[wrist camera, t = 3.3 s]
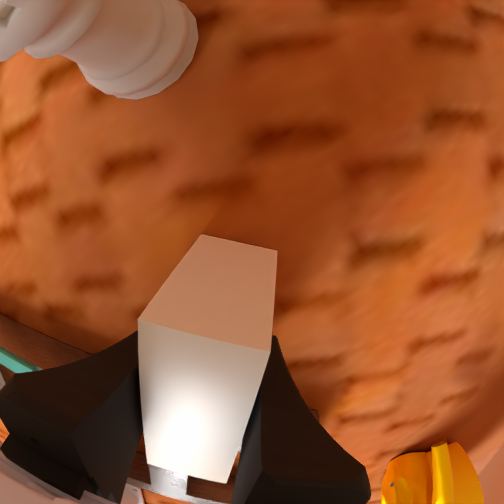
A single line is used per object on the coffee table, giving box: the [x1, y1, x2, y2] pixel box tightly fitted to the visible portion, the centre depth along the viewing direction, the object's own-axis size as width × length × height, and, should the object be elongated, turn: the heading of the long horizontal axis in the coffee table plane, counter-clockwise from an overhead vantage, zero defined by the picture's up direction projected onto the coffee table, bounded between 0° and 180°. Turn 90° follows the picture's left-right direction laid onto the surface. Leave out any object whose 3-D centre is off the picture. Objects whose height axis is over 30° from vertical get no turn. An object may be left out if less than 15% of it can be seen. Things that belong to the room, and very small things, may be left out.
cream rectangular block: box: [138, 234, 278, 484], centre depth 11 cm, size 7×3×6 cm, turn 169°
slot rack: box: [0, 313, 319, 504], centre depth 16 cm, size 11×22×3 cm, turn 79°
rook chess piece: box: [0, 0, 199, 100], centre depth 6 cm, size 4×4×8 cm
